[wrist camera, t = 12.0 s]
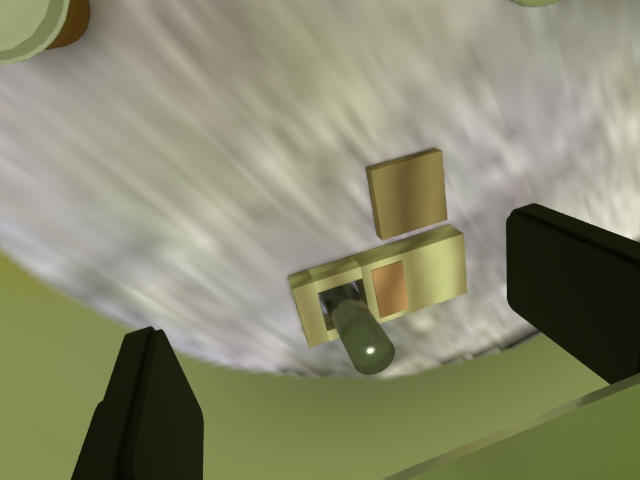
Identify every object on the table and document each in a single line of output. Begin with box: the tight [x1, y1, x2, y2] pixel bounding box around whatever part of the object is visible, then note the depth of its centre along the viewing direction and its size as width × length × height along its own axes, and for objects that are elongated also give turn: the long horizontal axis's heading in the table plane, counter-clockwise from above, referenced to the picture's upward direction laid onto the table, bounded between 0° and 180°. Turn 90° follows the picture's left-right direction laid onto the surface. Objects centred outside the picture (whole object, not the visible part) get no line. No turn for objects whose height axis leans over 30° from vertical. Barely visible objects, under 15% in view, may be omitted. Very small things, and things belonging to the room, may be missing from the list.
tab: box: [366, 148, 447, 240], centre depth 43 cm, size 8×8×2 cm
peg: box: [320, 282, 395, 375], centre depth 41 cm, size 4×4×12 cm
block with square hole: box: [288, 225, 467, 348], centre depth 45 cm, size 20×8×3 cm, turn 103°
